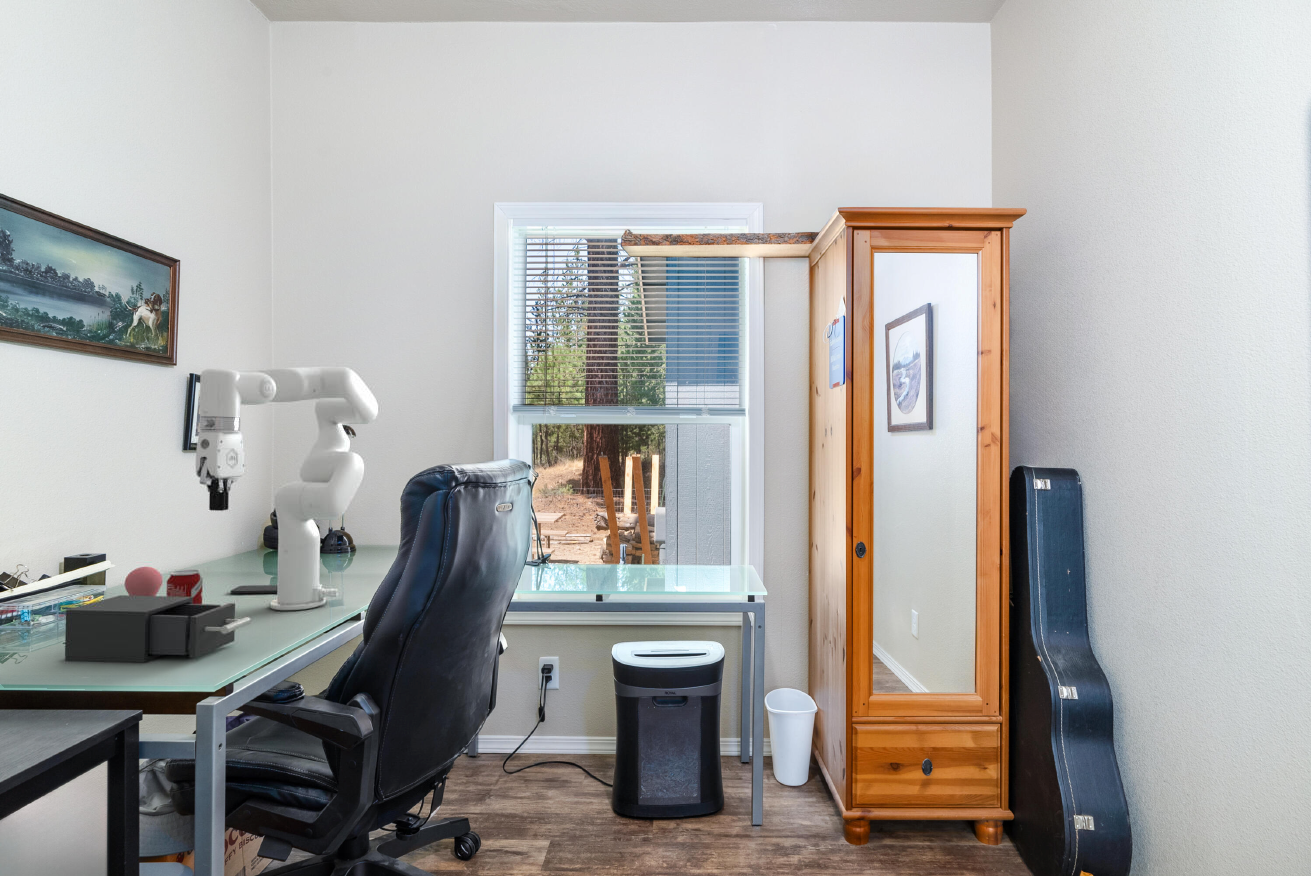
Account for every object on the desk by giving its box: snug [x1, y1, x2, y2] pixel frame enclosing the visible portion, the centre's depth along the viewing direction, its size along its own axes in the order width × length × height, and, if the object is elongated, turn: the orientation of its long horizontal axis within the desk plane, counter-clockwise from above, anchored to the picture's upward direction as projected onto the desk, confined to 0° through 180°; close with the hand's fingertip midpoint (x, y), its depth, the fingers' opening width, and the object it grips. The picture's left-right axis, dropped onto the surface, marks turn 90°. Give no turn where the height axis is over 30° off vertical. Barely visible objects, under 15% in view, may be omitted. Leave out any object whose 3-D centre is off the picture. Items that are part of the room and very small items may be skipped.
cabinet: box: [64, 594, 193, 664], centre depth 136 cm, size 16×13×10 cm
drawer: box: [148, 602, 252, 659], centre depth 136 cm, size 19×11×8 cm, turn 88°
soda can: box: [165, 569, 204, 604], centre depth 156 cm, size 7×7×12 cm
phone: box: [230, 584, 278, 594], centre depth 191 cm, size 7×1×15 cm
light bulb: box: [124, 566, 163, 596], centre depth 161 cm, size 7×7×12 cm
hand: (218, 509), depth 149 cm, fingers closed
